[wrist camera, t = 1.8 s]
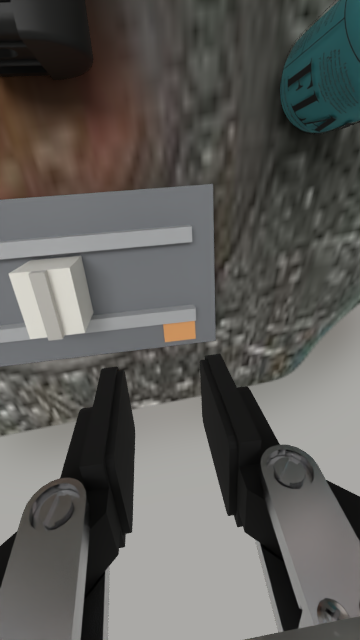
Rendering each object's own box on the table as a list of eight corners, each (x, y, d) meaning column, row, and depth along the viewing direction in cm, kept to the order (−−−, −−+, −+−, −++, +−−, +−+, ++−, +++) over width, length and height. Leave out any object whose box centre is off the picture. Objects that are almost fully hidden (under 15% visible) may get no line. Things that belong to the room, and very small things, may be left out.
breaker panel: (-130, 209, 21) (-163, 212, 19) (208, 184, 23) (215, 183, 21) (-53, 364, 27) (-70, 380, 25) (212, 333, 29) (218, 345, 27)
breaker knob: (30, 260, 22) (4, 276, 18) (81, 255, 23) (67, 270, 19) (46, 317, 25) (27, 343, 20) (93, 312, 25) (83, 336, 21)
